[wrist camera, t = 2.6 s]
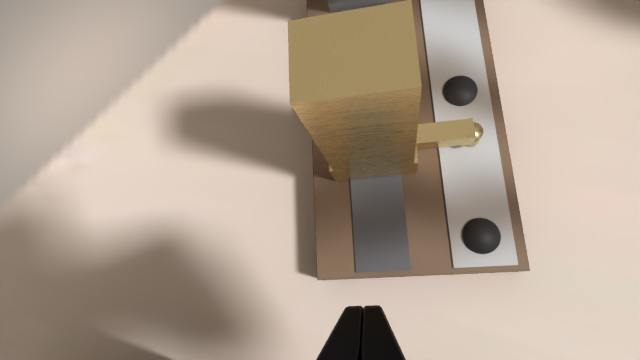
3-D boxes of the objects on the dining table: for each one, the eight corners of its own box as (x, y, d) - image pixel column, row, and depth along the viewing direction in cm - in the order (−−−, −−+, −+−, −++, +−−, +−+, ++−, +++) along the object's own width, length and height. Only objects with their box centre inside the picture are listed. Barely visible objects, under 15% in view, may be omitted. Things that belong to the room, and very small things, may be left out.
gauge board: (520, 271, 20) (659, 262, 9) (322, 280, 22) (246, 281, 11) (469, -40, 25) (519, -283, 14) (310, -11, 27) (249, -205, 16)
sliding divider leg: (481, 167, 20) (551, 69, 11) (335, 180, 22) (283, 104, 12) (473, 114, 21) (532, -22, 12) (333, 130, 22) (282, 21, 13)
